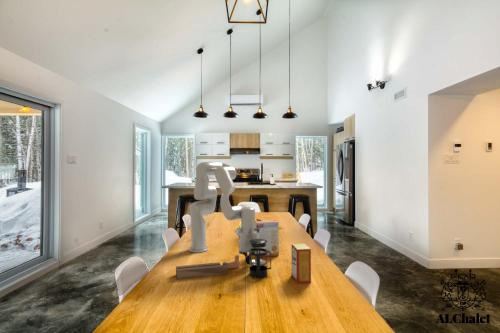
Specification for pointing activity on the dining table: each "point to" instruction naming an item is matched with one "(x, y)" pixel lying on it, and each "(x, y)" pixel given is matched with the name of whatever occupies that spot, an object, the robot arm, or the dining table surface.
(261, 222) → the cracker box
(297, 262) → the baking soda box
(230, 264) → the tab
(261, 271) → the french press
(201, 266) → the tongs jaw
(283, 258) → the dining table surface
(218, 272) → the tongs fixed jaw
